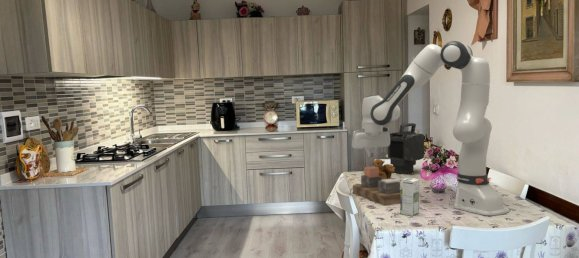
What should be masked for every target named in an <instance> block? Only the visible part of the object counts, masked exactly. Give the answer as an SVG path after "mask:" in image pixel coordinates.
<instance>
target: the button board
mask: <svg viewBox="0 0 579 258" xmlns="http://www.w3.org/2000/svg"><path fill="white" fill-rule="evenodd" d="M360 179H361V180H360V184H353V185H352V194H354V195H357V196H359V197H362V198H363V199H366V200H368V201H369V200H370V201H372V202H373V203H374V202H375V203H377V204H379V205H382V206H389V205H398V204H400V196H401V181H398V180H396V181H397V182H394V183H385V182H382V181H381V180H382V177H381V176H379V177H372V178H369V177H366V176H364V174H363V175H361V176H360Z"/></svg>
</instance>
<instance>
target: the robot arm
mask: <svg viewBox="0 0 579 258" xmlns="http://www.w3.org/2000/svg"><path fill="white" fill-rule="evenodd" d="M444 65H446V66H447V67H451V68H454V69H457V70H460V72H461V87H460V100H459V101H460V102H459V107H458V111H457V115H456V119H455V120H456V121H455V124H454V125H453V127H452V134H453V137H454V138H455V139H456V140H457V141H459V143H461V147H460V148H461V149H460V151H459V153H458V172H457V174H456V181H457V188H456V195H455V199H454V201H453V202H454V203H453V208H454V209H457V210H459V211H460V210H461V211H465V212H469V213H474V214H477V215H482V216H499V215H504V214H507V213H509V212H510V209H509V208H507V207H505V206H504V204H503V198H502V196H501V194H499V192H497V190H495V188H494V187H492V185H491V184H490V181H491V180H492V177H489V176H488V174H487V155H488V154H487V153H488V151H489V149H488V148H489V143H490V139H491V138H490V137H491V132H492V128H493V126H492V123H491V121H490V120H489V119H488V118H487V117H485V115H486V111H487V107H488V105H489V100H490V87H491V72H490V71H491V70H490V64H489V61H488V60H487V59H485V58H483V57H477V56H473V50H472V48H471V47H470V46H469V45H468V44H466V43H465V42H462V41H458V40H451V41H449V42H446V43H445V44H444V45H443V46H439V45H437V44H434V43H430V44H426V46H425V47H424V48H423V49H421V51H420V52H419V53H418V54H417V55H416V56H415V57H414V59H413V60H412V61H411V63H410V64H409V66H408V67H407V69H406V70H405V71H404V73H403V74H402V76H401V77H400V79H399V80H398V81H397V82H396V84H395V85H394V86H393V88H391V90H390V91H389V92H388V93H387V94H386V95H385V97H384V98H383V97H381V95H378V94H374V95H367V96H365V97H364V98H363V99H362V106H361V107H362V108H361V115H362V121H361V129H355V130H354V131H352V137H351V138H352V139H351V140H352V141H351V147H352V148H353V149H354V150H359V149H360V150H361V149H363V150H364V149H365V152H366V154H367V157H368V158H373V157H375V155H376V154H375V153H376V152H377V150H378V149H377V148H384V147H385V148H386V147H387V148H388V146H389V145H390V127H388V126H385V125H386V124H390V123H391V124H392V123H393V122H396V121H397V120H399V119H400V117H401V113H402V111H401V107H400V106H399V104H400V102H402V100H404V98H405V97H406V96H407V94H409V93H410V92H412V91H414V90H416V89H418V88H420V87H423V86H424V85H425V84H427V82H429V81H430V80H431V79H432V77H433V76H434V74H436V72H437V71H438V70H439V69H440V68H441V67H442V66H444ZM371 150H372V151H371Z"/></svg>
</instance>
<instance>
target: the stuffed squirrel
mask: <svg viewBox="0 0 579 258" xmlns="http://www.w3.org/2000/svg"><path fill="white" fill-rule="evenodd" d="M385 162H386V161H385V160H382V159H380V158H376V159H375V160H374V161H373V162H372V163H371V165H370V166H374V167H378V168H379V176H381V177H382V180H385V179H392V174H394V173H393V172H394V169H395V168H394V167H393V165H392V164H389V163H386V164H384V163H385Z"/></svg>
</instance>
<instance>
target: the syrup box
mask: <svg viewBox="0 0 579 258" xmlns="http://www.w3.org/2000/svg"><path fill="white" fill-rule="evenodd" d="M400 190H401V196H400V203H399V205H400V206H399V208H400V209H399V214H400V215H404V216H410V217H413V216H416V215H417V214H419V210H420V209H419V207H420V206H419V205H420V179H418V178H413V177H406V178H402V179H401V180H400Z"/></svg>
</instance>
